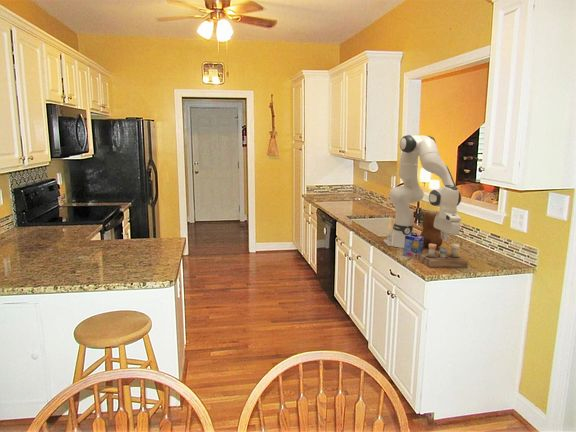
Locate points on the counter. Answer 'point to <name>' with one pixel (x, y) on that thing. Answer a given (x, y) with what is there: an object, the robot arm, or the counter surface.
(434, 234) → the brown rounded block
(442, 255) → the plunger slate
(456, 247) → the plunger cream
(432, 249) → the plunger terracotta
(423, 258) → the wooden board with holes
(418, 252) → the ink cartridge box
